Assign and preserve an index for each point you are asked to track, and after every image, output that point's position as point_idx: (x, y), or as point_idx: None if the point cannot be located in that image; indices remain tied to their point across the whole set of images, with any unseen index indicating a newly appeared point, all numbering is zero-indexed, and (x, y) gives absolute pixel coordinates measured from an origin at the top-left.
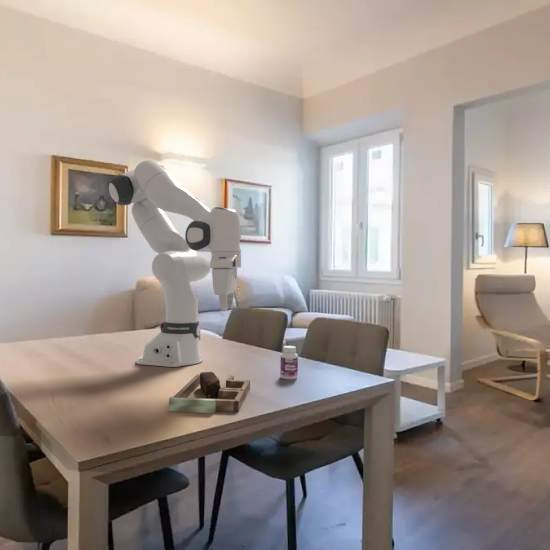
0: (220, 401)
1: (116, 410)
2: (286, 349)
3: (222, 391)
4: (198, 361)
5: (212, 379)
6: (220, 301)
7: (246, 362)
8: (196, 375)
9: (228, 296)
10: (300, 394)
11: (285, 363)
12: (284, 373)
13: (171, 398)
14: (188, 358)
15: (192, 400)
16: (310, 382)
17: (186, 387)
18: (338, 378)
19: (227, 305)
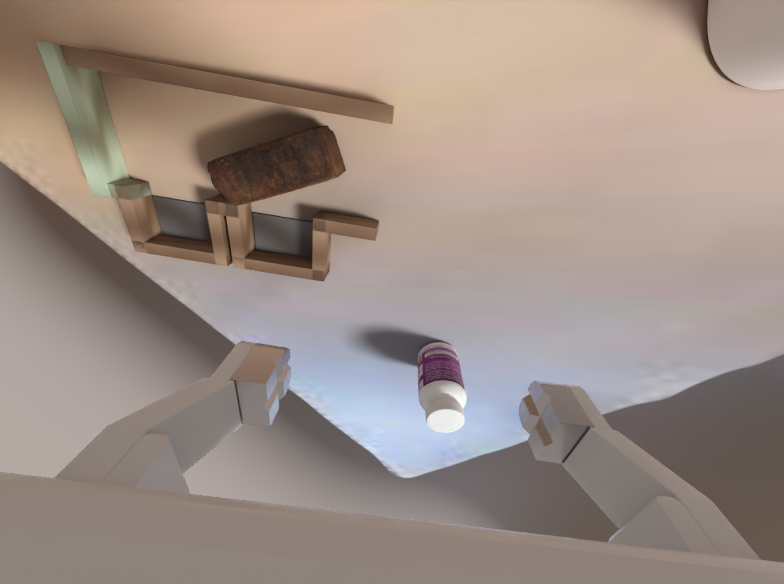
0: (123, 208)
1: None
2: (429, 409)
3: (207, 210)
4: (735, 73)
5: (231, 183)
6: (167, 404)
7: (651, 271)
8: (374, 105)
9: (646, 496)
10: (304, 358)
11: (422, 376)
12: (422, 356)
13: (41, 49)
14: (744, 9)
15: (70, 129)
16: (394, 385)
17: (207, 85)
18: (423, 427)
19: (538, 396)
